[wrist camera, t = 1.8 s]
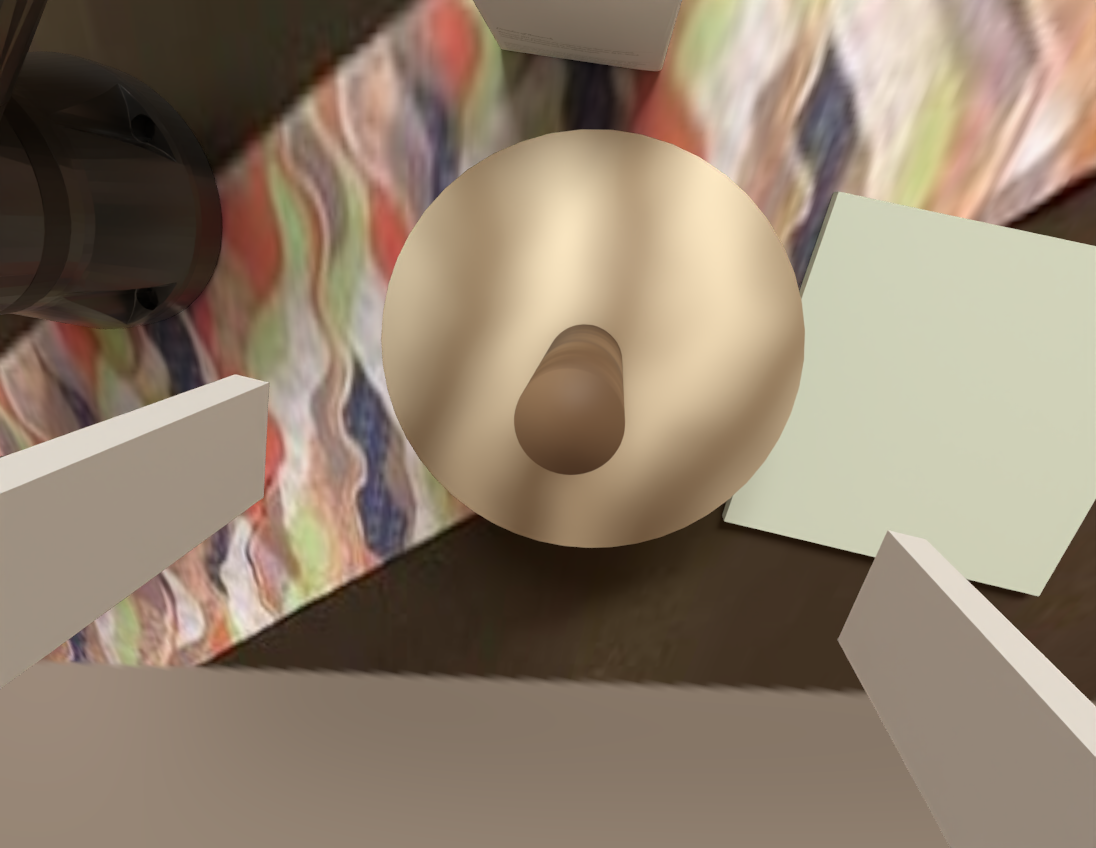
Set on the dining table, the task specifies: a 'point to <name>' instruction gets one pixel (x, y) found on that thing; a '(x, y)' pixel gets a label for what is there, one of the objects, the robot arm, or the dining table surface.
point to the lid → (593, 338)
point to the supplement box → (585, 29)
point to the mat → (938, 394)
